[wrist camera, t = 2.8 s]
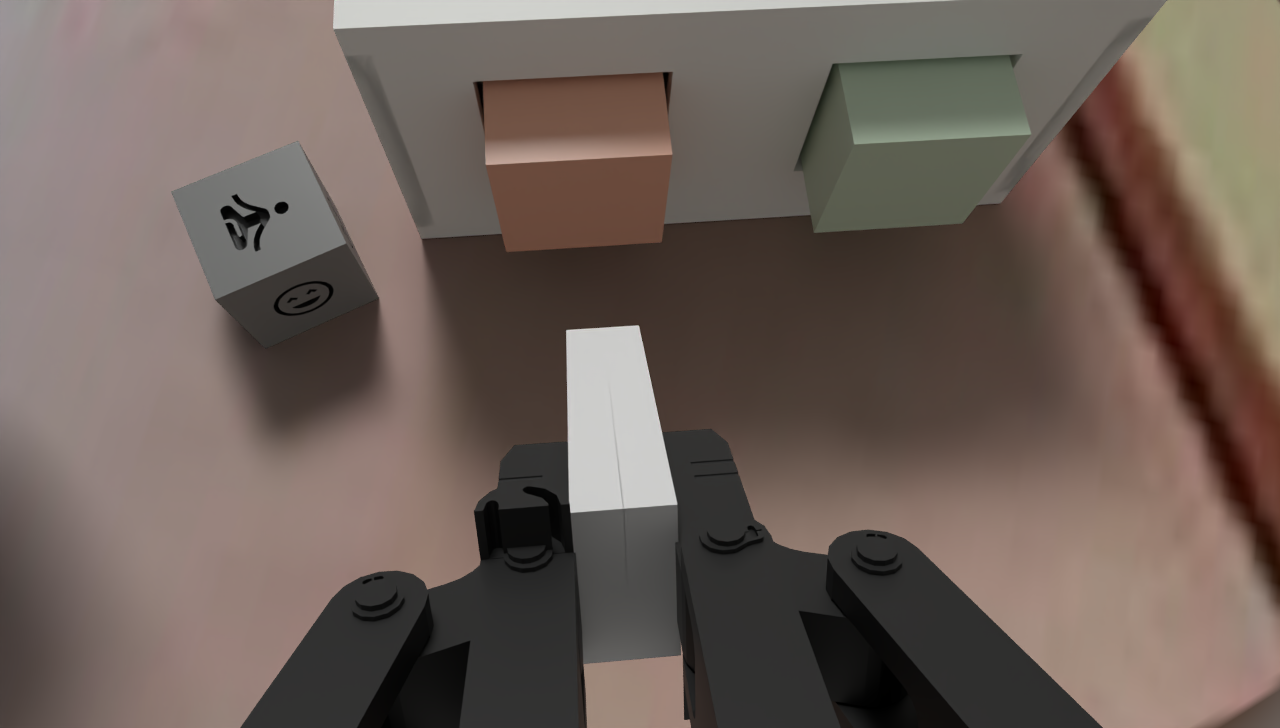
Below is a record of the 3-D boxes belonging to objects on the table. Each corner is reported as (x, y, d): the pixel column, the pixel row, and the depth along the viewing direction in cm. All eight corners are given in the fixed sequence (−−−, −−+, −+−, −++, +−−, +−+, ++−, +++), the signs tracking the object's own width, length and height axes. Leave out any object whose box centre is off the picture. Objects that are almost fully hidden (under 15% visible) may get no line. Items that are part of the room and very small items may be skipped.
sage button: (813, 232, 34) (854, 144, 29) (787, 84, 37) (820, -24, 31) (962, 223, 35) (1031, 134, 29) (927, 77, 37) (984, -31, 31)
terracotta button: (506, 252, 33) (485, 164, 28) (500, 99, 36) (479, -9, 30) (661, 242, 34) (672, 154, 28) (645, 92, 36) (652, -17, 31)
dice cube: (225, 252, 38) (171, 191, 33) (335, 206, 39) (298, 140, 34) (266, 349, 36) (214, 299, 31) (379, 298, 37) (346, 243, 32)
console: (421, 238, 38) (333, 28, 26) (420, 51, 41) (342, -213, 29) (1000, 203, 40) (1175, -10, 27) (954, 25, 43) (1091, -235, 31)
